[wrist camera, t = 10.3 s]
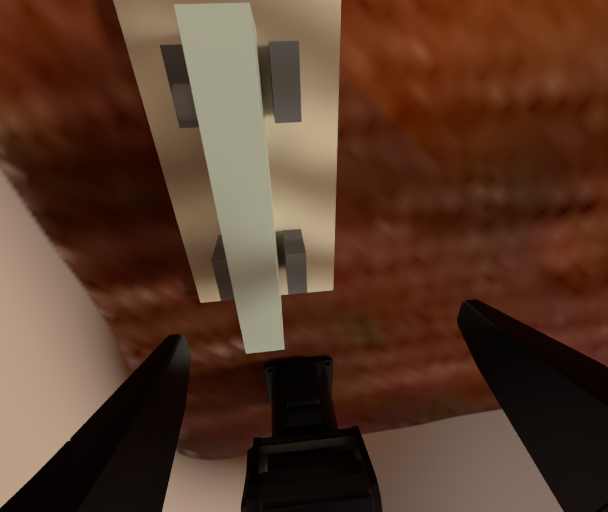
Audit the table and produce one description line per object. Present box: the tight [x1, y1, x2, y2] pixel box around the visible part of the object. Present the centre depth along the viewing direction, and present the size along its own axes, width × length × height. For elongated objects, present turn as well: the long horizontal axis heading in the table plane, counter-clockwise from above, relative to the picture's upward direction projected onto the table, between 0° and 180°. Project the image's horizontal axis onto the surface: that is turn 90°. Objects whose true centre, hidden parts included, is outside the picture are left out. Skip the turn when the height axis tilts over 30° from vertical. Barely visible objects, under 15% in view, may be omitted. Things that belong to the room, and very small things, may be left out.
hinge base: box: [113, 0, 341, 303], centre depth 17 cm, size 18×10×4 cm, turn 2°
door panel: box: [172, 3, 284, 354], centre depth 15 cm, size 14×3×7 cm, turn 2°
